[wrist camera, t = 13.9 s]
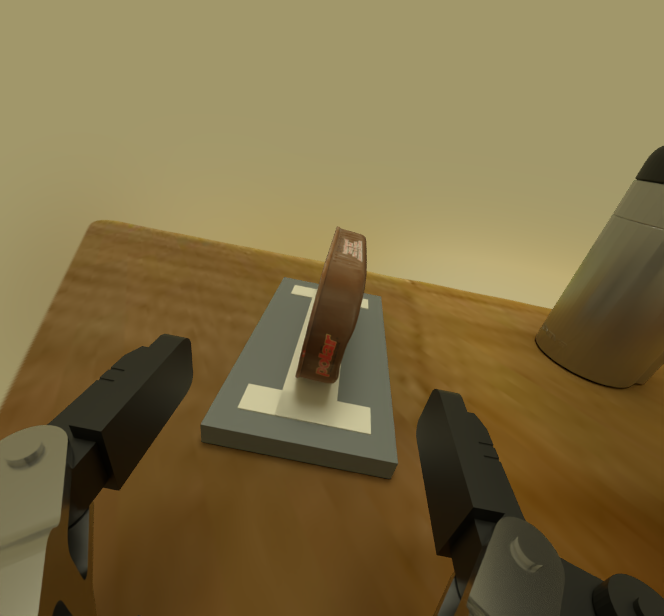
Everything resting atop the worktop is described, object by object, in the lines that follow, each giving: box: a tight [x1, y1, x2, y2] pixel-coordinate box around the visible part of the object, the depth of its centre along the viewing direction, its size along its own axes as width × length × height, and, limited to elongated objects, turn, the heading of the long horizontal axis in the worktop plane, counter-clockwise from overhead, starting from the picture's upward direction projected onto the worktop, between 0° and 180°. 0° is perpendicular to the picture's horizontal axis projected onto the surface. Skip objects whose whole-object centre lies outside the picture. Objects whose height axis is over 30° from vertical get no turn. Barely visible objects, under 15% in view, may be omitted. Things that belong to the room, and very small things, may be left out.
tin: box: [295, 227, 367, 384], centre depth 23 cm, size 15×3×8 cm, turn 174°
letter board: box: [201, 277, 398, 479], centre depth 26 cm, size 11×20×2 cm, turn 175°
